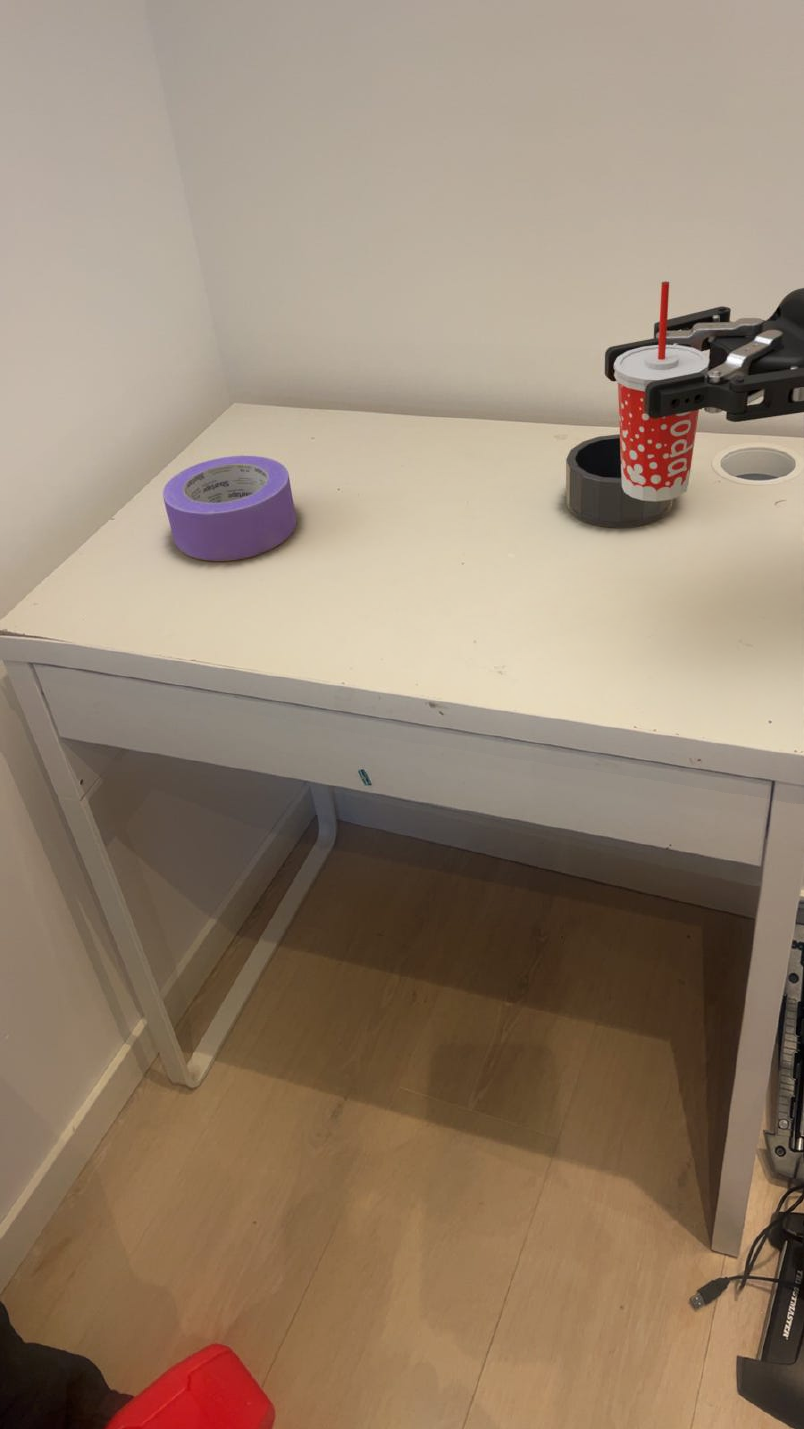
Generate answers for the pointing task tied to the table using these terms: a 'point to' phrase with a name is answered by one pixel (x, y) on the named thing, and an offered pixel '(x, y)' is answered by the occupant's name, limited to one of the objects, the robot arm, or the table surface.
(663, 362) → the beverage cup
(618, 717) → the table surface
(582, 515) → the socket
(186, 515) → the tape roll
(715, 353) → the robot arm
